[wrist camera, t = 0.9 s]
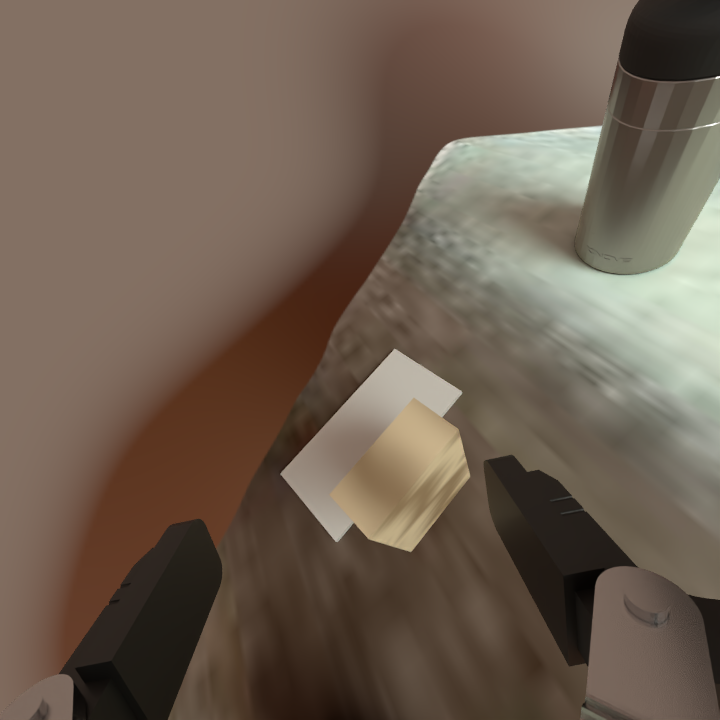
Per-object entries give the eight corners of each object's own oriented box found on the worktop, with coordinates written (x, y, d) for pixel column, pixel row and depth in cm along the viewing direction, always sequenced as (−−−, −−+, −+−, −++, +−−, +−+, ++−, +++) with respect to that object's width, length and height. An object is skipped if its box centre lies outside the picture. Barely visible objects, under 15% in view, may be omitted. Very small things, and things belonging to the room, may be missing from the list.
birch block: (438, 451, 32) (413, 397, 23) (470, 476, 30) (458, 429, 21) (381, 520, 31) (329, 494, 21) (411, 552, 29) (368, 539, 19)
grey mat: (395, 350, 39) (394, 348, 39) (462, 393, 34) (461, 391, 34) (282, 474, 36) (280, 473, 36) (337, 542, 31) (335, 541, 31)
